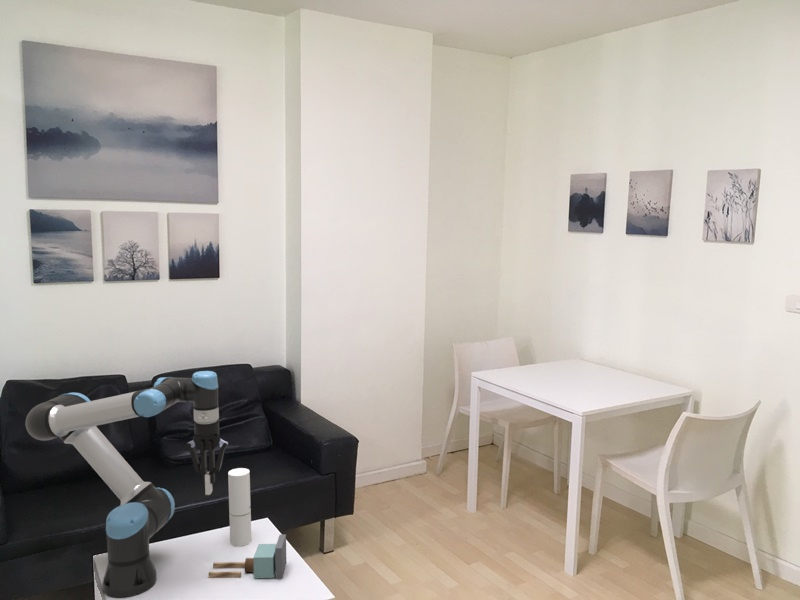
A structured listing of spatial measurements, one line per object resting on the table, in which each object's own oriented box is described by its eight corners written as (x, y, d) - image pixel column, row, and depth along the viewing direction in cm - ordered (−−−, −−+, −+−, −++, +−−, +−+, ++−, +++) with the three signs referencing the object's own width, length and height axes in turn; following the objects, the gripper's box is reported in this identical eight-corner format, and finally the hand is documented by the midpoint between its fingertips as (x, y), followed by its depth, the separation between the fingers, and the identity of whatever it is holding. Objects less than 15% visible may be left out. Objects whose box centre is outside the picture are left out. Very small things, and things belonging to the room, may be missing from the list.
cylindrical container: (254, 536, 227) (252, 468, 224) (247, 546, 220) (245, 476, 217) (234, 535, 228) (232, 467, 225) (227, 545, 220) (225, 475, 218)
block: (253, 578, 200) (253, 557, 199) (259, 563, 208) (258, 543, 208) (273, 577, 200) (273, 557, 199) (277, 563, 208) (277, 543, 208)
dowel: (244, 572, 202) (244, 559, 203) (246, 570, 206) (247, 557, 207) (269, 572, 202) (270, 558, 203) (272, 570, 206) (272, 556, 207)
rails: (208, 577, 200) (208, 573, 200) (213, 566, 207) (213, 562, 207) (240, 577, 201) (240, 572, 201) (245, 566, 207) (245, 562, 207)
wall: (275, 579, 200) (275, 548, 199) (280, 563, 209) (279, 534, 208) (282, 578, 200) (281, 548, 199) (286, 563, 209) (285, 534, 208)
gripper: (181, 424, 198) (184, 498, 201) (224, 424, 199) (226, 497, 201) (189, 417, 206) (191, 488, 208) (230, 417, 206) (232, 488, 209)
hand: (208, 493), depth 205 cm, fingers closed
